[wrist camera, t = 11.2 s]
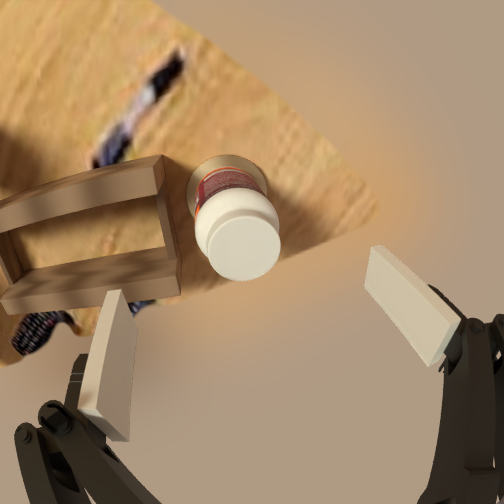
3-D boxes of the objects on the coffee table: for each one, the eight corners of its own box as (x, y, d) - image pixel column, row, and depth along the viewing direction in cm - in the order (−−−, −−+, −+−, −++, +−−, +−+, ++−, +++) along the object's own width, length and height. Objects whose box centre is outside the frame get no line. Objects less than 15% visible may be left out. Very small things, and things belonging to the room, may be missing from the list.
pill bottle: (183, 181, 25) (176, 229, 16) (243, 154, 25) (274, 186, 16) (210, 234, 28) (220, 303, 19) (266, 210, 28) (303, 267, 19)
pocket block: (26, 285, 27) (7, 314, 22) (-6, 203, 21) (-34, 223, 16) (181, 262, 30) (180, 295, 25) (161, 154, 24) (152, 166, 19)
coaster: (192, 235, 29) (192, 238, 28) (181, 160, 25) (180, 161, 24) (267, 224, 30) (268, 227, 29) (263, 150, 26) (265, 151, 25)
